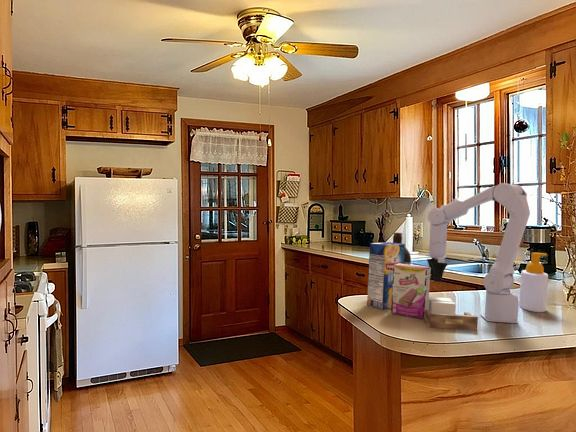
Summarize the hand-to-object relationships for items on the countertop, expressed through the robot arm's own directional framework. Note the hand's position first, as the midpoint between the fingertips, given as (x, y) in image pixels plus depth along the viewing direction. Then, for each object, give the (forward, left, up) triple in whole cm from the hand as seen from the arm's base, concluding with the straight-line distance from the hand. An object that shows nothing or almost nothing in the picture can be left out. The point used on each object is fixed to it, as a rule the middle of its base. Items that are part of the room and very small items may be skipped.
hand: (435, 280), depth 170 cm
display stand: (0, +25, -9) cm, 27 cm away
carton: (0, +10, -10) cm, 14 cm away
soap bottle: (-36, -7, -10) cm, 38 cm away
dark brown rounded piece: (+13, -10, -10) cm, 19 cm away
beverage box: (+18, +4, -10) cm, 21 cm away
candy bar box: (+11, +16, -10) cm, 22 cm away
